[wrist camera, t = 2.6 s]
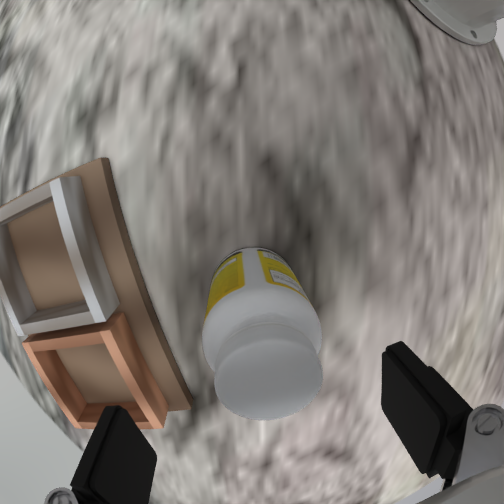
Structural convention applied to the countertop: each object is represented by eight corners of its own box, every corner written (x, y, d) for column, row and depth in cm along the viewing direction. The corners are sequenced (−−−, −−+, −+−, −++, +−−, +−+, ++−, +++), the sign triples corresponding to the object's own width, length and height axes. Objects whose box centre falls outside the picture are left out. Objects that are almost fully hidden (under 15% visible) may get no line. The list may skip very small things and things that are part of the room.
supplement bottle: (215, 325, 20) (204, 434, 10) (207, 248, 18) (180, 324, 9) (294, 319, 20) (333, 422, 11) (293, 243, 19) (348, 311, 9)
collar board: (-6, 213, 17) (-35, 221, 13) (108, 158, 17) (80, 156, 13) (79, 406, 22) (65, 431, 18) (193, 399, 21) (187, 431, 18)
